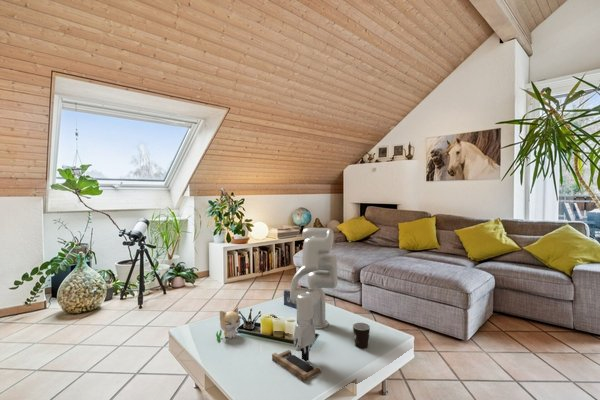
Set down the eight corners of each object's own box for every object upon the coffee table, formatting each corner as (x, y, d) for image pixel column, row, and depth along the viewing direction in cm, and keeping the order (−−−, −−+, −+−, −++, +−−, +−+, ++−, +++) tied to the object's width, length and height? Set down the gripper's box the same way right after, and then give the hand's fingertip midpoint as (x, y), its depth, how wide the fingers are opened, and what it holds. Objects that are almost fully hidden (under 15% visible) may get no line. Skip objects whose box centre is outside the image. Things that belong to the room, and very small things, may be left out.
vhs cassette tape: (306, 310, 204) (305, 295, 203) (302, 311, 202) (302, 296, 201) (286, 303, 216) (286, 289, 216) (283, 304, 214) (283, 290, 214)
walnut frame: (272, 360, 144) (272, 354, 144) (288, 352, 151) (288, 346, 151) (303, 382, 128) (303, 374, 128) (320, 372, 135) (320, 365, 134)
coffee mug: (370, 350, 152) (370, 330, 152) (352, 349, 154) (352, 329, 154) (369, 339, 164) (369, 320, 163) (353, 338, 165) (353, 319, 165)
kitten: (219, 344, 160) (219, 315, 159) (212, 336, 168) (212, 309, 168) (246, 336, 169) (245, 309, 168) (238, 329, 177) (237, 303, 176)
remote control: (285, 361, 145) (306, 374, 134) (285, 358, 145) (306, 370, 134) (293, 358, 148) (314, 370, 137) (293, 354, 148) (314, 366, 137)
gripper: (310, 314, 151) (311, 350, 151) (287, 323, 141) (287, 362, 141) (321, 318, 145) (322, 357, 146) (298, 328, 135) (298, 369, 136)
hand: (305, 359), depth 143 cm, fingers closed
